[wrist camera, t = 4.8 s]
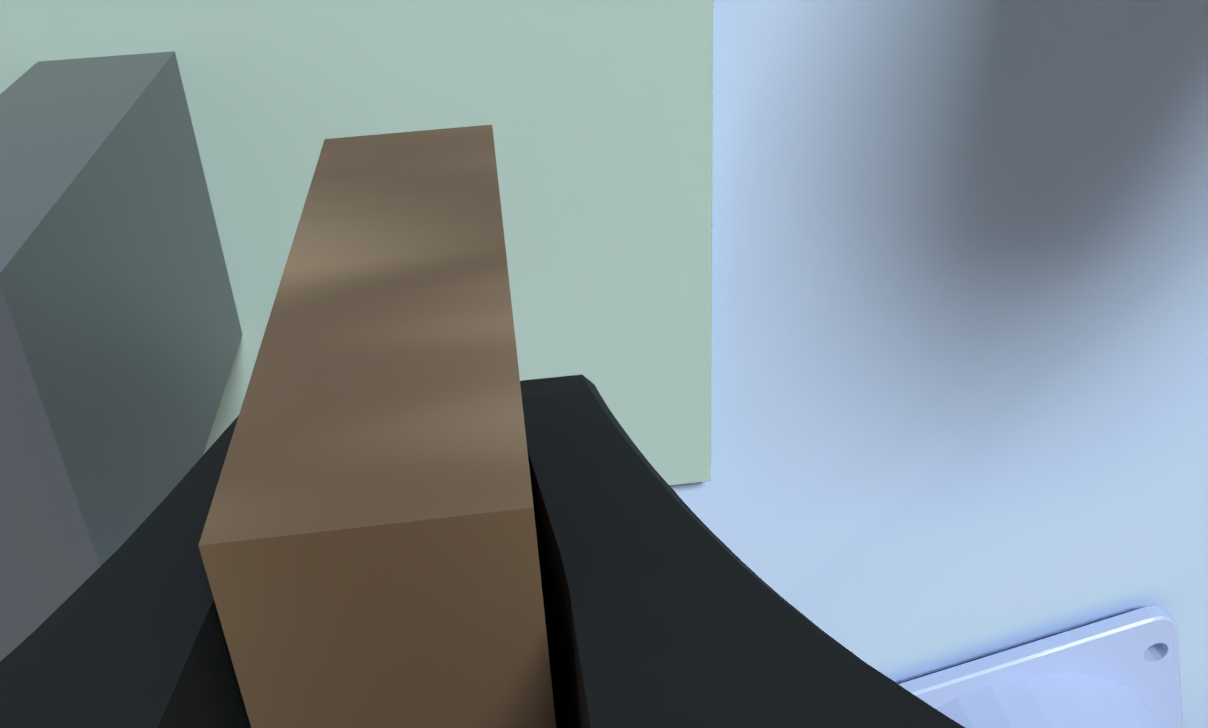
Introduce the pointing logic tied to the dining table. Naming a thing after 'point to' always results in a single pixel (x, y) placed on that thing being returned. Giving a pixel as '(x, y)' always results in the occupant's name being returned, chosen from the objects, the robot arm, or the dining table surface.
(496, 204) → the domino
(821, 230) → the dining table surface
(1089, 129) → the dining table surface
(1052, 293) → the dining table surface
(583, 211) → the mat
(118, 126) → the domino
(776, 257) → the dining table surface
